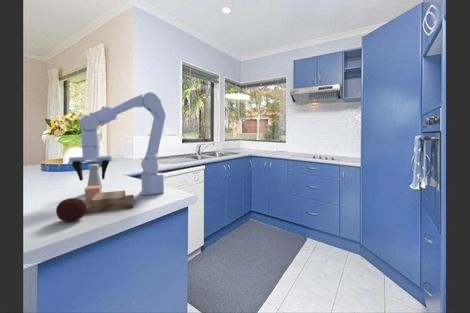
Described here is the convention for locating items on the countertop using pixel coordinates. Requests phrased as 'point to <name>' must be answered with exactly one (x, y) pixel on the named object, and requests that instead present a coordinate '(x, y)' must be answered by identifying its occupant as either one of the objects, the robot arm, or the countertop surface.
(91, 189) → the cube
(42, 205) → the countertop surface
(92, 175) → the salt shaker
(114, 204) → the base
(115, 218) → the countertop surface
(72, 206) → the potato
